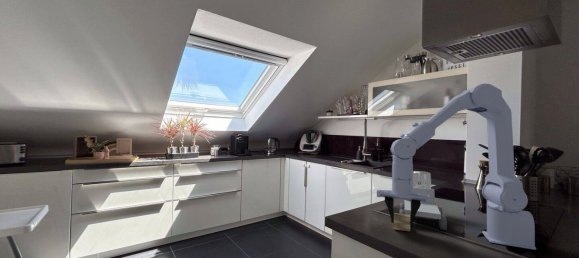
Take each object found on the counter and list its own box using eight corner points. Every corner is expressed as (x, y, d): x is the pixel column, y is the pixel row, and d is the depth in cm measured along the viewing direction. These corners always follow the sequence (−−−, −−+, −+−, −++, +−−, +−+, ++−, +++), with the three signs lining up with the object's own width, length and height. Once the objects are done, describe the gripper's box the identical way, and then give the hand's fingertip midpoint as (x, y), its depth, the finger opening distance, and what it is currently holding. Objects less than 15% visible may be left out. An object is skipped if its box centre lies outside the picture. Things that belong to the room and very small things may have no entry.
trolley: (440, 218, 85) (440, 189, 85) (446, 232, 73) (447, 198, 73) (399, 213, 91) (400, 185, 91) (399, 224, 79) (399, 193, 79)
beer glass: (415, 207, 98) (415, 170, 98) (434, 212, 93) (434, 172, 93) (407, 211, 94) (407, 171, 94) (426, 215, 88) (426, 174, 89)
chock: (409, 226, 76) (409, 213, 77) (410, 231, 72) (410, 217, 72) (394, 224, 78) (394, 211, 79) (393, 228, 74) (393, 215, 74)
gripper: (428, 178, 75) (428, 223, 75) (378, 174, 81) (377, 215, 81) (430, 182, 68) (430, 231, 68) (376, 177, 75) (375, 222, 74)
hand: (401, 223), depth 74 cm, fingers closed on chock, 4 cm apart
